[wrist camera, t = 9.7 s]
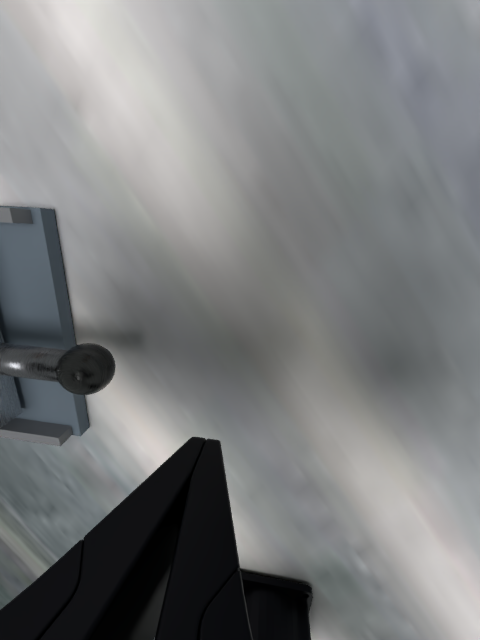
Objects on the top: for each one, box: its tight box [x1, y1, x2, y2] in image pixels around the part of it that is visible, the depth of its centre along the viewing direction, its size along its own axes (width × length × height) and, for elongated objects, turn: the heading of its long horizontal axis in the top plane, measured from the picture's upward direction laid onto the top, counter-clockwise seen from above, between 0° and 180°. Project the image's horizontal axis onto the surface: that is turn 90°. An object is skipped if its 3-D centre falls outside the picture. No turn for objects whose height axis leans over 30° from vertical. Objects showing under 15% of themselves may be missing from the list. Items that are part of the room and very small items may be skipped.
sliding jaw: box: [0, 327, 115, 428], centre depth 12 cm, size 10×10×4 cm
